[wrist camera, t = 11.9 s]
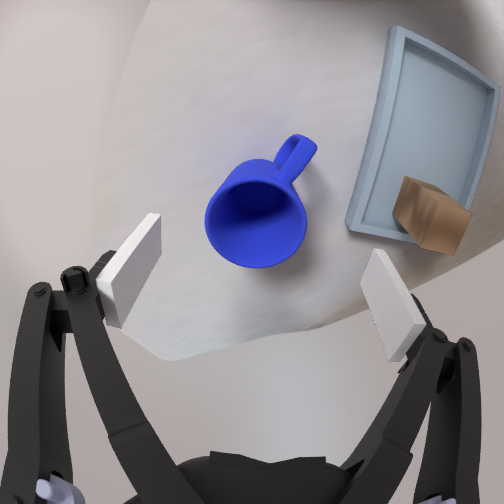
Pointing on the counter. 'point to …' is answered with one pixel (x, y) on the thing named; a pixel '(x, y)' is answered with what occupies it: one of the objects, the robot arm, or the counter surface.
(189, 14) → the counter surface
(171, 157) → the counter surface
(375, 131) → the tray
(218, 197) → the mug
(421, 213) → the walnut block
